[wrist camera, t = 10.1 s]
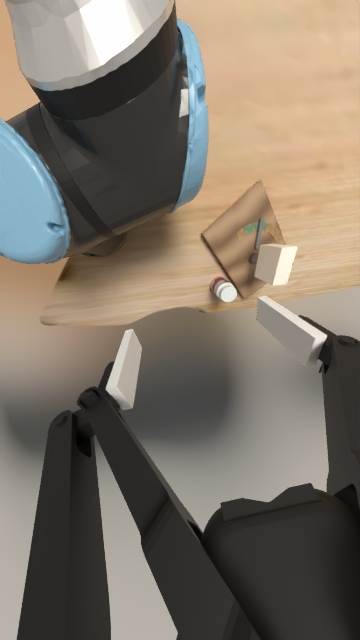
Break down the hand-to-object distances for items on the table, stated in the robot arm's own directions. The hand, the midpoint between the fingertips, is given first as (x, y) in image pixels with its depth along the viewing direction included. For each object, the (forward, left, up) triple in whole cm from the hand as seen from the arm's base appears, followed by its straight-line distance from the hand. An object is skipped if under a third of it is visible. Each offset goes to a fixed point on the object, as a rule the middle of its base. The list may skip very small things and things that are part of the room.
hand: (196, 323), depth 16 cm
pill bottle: (+12, +6, -29) cm, 31 cm away
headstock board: (+9, +17, -28) cm, 34 cm away
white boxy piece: (+9, +18, -26) cm, 33 cm away
